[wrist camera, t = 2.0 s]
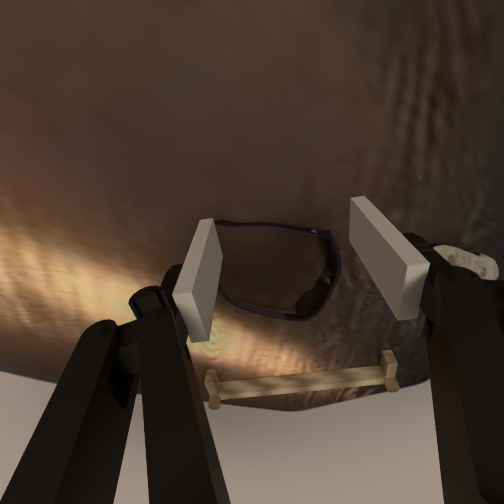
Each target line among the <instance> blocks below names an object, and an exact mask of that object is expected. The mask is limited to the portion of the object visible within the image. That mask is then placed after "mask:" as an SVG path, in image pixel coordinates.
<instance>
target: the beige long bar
mask: <svg viewBox="0 0 504 504" xmlns="http://www.w3.org/2000/svg"><path fill="white" fill-rule="evenodd" d="M397 364H398V362H397V360H396V358H395V357H394V355H393V353H392V351H391V350H385V351H382V354H381V360H380V365H379V366H369V367H360V368H350V369H341V370H331V371H321V372H312V373H302V374H293V375H283V376H273V377H264V378H254V379H245V380H235V381H225V382H219V379H218V376H217V374H216V371H215V369H209V370H206V376H205V385H206V388H207V390H208V392H209V395H210V398H209V408H210V409H214V410H216V409H219V408H220V401H221V400H225V399H235V398H245V397H255V396H265V395H275V394H285V393H295V392H305V391H315V390H325V389H335V388H346V387H356V386H366V385H376V384H385V386H386V388H387V390H388V392H397V391H398V390H399V389H400V387H399V385H398V382H397V380H396V378H395V374H396V369H397Z"/></svg>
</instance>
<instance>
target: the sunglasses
mask: <svg viewBox="0 0 504 504" xmlns="http://www.w3.org/2000/svg"><path fill="white" fill-rule="evenodd" d="M215 223H216V225H220V226H226V227H264V228H275V229H282V230H288V231H294V232H301V233H305V234H309V235H313V236H318V237H324V238H327V239H328V244H329V245H330V246H331V248H330V249H329V250H328V259H327V268H326V274H327V276H328V278H329V279H330V284H328V283H327V281H325V280H324V279H322V278H321V279H319V280H317V281H316V283H317V284H316V285H315V286H314V288H313V289H312V290H310V291H309V292H306V293H305V294H304V295H303V296H302V297H301V299H300V300H299V301H298V303H297V306H296V313H295V314H286V313H280V312H273V311H268V310H263V309H258V308H254V307H250V306H247V305H243V304H241V303H238V302H236V301H234V300H232V299H231V298H229V297H228V296H227V295H226V294H225V293H224V292H223V290H222V289H221V287H220V285H219V284H218V289H217V290H218V292H219V293H220V294H221V295H222V297H223V298H224V299H226V300H227V301H228V302H230V303H231V304H233V305H235V306H237V307H240V308H242V309H245V310H248V311H251V312H254V313H257V314H261V315H265V316H270V317H274V318H279V319H284V320H291V321H306V320H309V319H311V318H313V317H314V316H316V315H317V314H318V313H319V312H320V311H321V310H322V309H323V308H324V306H325V305H326V303H327V301H328V299H329V297H330V296H331V293H332V291H333V289H334V287H335V285H336V283H337V281H338V278H339V276H340V273H341V257H340V253H339V250H338V247H337V245H336V242H335V240H334V238H333V236H332V234H331V232H330V230H328V231H326V232H324V231H319V230H314V229H308V228H303V227H297V226H290V225H282V224H273V223H234V222H229V221H225V220H219V221H216V222H215Z"/></svg>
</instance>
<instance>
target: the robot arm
mask: <svg viewBox="0 0 504 504" xmlns="http://www.w3.org/2000/svg"><path fill="white" fill-rule="evenodd" d="M349 241H350V243H351V244H352V246H353V247H354V249H355V251H356V252H357V254H358V256H359V257H360V259H361V261H362V262H363V264H364V266H365V267H366V269H367V271H368V272H369V274H370V275H371V277H372V279H373V280H374V282H375V284H376V285H377V287H378V289H379V290H380V292H381V294H382V295H383V297H384V298H385V300H386V302H387V303H388V305H389V307H390V308H391V310H392V312H393V313H394V315H395V317H396V318H397V320H407V319H417V318H418V313H419V309H420V308H421V310H422V311H423V312H424V314H425V315H426V318H425V322H424V326H423V330H422V334H421V337H422V338H424V336H425V337H426V346H427V355H428V364H429V373H430V382H431V391H432V400H433V408H434V417H435V426H436V435H437V444H438V453H439V461H440V471H441V480H442V489H443V498H444V504H504V281H501V280H488V279H481V277H480V276H479V275H478V274H477V273H475V272H474V271H472V270H470V269H467V268H465V267H460V266H452V265H451V264H450V263H449V262H448V261H447V260H446V259H444V258H443V257H442V256H441V255H440V254H439V253H438V252H437V251H436V250H434V248H433V247H432V246H430V245H428V243H427V242H426V241H425V240H424V239H423V238H422V237H420V236H417V235H415V234H413V233H405V234H401V233H400V232H399V231H398V230H397V229H396V228H395V227H394V226H393V225H392V224H391V223H390V222H389V221H388V220H387V219H386V218H385V217H384V215H383V214H382V213H381V212H380V211H379V210H378V209H377V208H376V207H375V206H374V205H373V204H372V203H371V202H370V201H369V200H368V199H367V198H366V197H365V196H361V197H354V198H351V200H350V229H349ZM222 259H223V256H222V252H221V248H220V244H219V240H218V236H217V232H216V228H215V225H214V221H213V218H210V219H203V220H200V222H199V224H198V227H197V230H196V232H195V235H194V238H193V240H192V243H191V246H190V248H189V251H188V254H187V256H186V259H185V262H184V264H177V265H173V266H172V267H171V268H170V269H169V270H168V271H167V272H166V274H165V277H164V280H163V281H162V283H161V286H160V287H159V286H148V287H145V288H143V289H140V290H138V291H137V292H136V293H134V294H133V295H132V297H131V298H130V299H129V303H128V304H129V306H130V307H131V309H132V311H133V313H134V315H135V317H136V320H134V321H131V322H129V323H126V324H123V325H120V326H117V324H116V323H115V321H113V320H110V319H108V320H102V321H99V322H96V323H95V324H93V325H91V326H90V327H89V328H87V329H86V330H85V331H84V332H83V334H82V335H81V337H80V339H79V341H78V343H77V345H76V347H75V349H74V351H73V353H72V355H71V357H70V359H69V361H68V363H67V365H66V367H65V370H64V372H63V374H62V376H61V378H60V380H59V382H58V384H57V386H56V388H55V390H54V392H53V394H52V396H51V398H50V400H49V402H48V405H47V406H46V408H45V411H44V413H43V415H42V417H41V419H40V421H39V423H38V425H37V427H36V429H35V431H34V433H33V435H32V437H31V439H30V441H29V443H28V445H27V447H26V449H25V452H24V453H23V455H22V458H21V460H20V462H19V464H18V466H17V468H16V470H15V472H14V474H13V476H12V478H11V480H10V482H9V485H8V486H7V489H6V490H5V493H4V494H3V496H2V499H1V501H0V504H113V502H114V497H115V492H116V488H117V483H118V479H119V474H120V469H121V465H122V460H123V455H124V450H125V446H126V441H127V436H128V431H129V427H130V422H131V417H132V412H133V408H134V403H135V398H136V394H137V389H138V384H139V380H140V375H141V389H142V403H143V417H144V433H145V447H146V461H147V476H148V491H149V504H231V503H230V499H229V495H228V492H227V488H226V484H225V481H224V477H223V474H222V470H221V466H220V462H219V459H218V455H217V451H216V448H215V444H214V440H213V437H212V433H211V430H210V426H209V422H208V418H207V415H206V411H205V407H204V404H203V400H202V396H201V393H200V389H199V385H198V382H197V378H196V374H195V371H194V367H193V363H192V360H191V356H190V352H189V349H188V346H187V344H186V341H187V337H188V335H189V337H190V340H191V342H192V343H193V342H203V341H209V337H210V331H211V325H212V319H213V313H214V307H215V301H216V295H217V289H218V283H219V277H220V271H221V265H222Z"/></svg>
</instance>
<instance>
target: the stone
mask: <svg viewBox="0 0 504 504" xmlns="http://www.w3.org/2000/svg"><path fill="white" fill-rule="evenodd" d="M433 248H434V250H436V251H437V252H438V253H439V254H440V255H441V256H442V257H443V258H444V259H446V260H447V261H448V262H449V263H450V264H451V265H452V266H460V267H465V268H467V269H470V270H472V271H474V272H475V273H477V274H478V275H479V276H480V277H481V279H488V280H496V279H497V277H498V275H499V273H498V266H497V264H496V262H495V260H494V259H492V258H490V257H488V256H486V255H485V254H479V255H478V256H477V255H475V254H472V253H470V252H466V251H463V250H461V249H459V248H456V247H452V246H446V245H441V246H435V247H433Z"/></svg>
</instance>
